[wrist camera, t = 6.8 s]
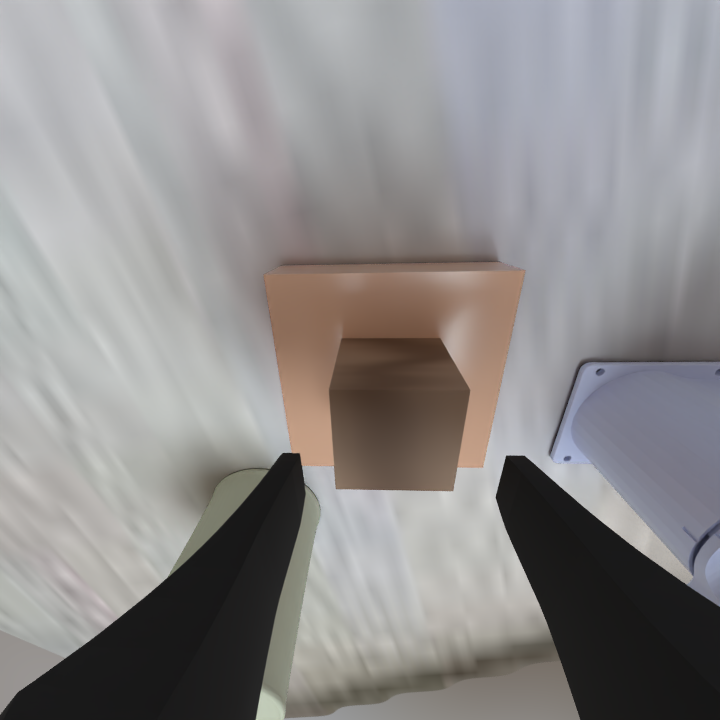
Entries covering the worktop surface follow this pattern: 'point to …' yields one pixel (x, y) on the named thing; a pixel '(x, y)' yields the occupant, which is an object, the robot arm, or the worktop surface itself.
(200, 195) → the worktop surface
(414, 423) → the walnut cube
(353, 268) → the tan rectangular block
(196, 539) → the can
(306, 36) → the worktop surface
